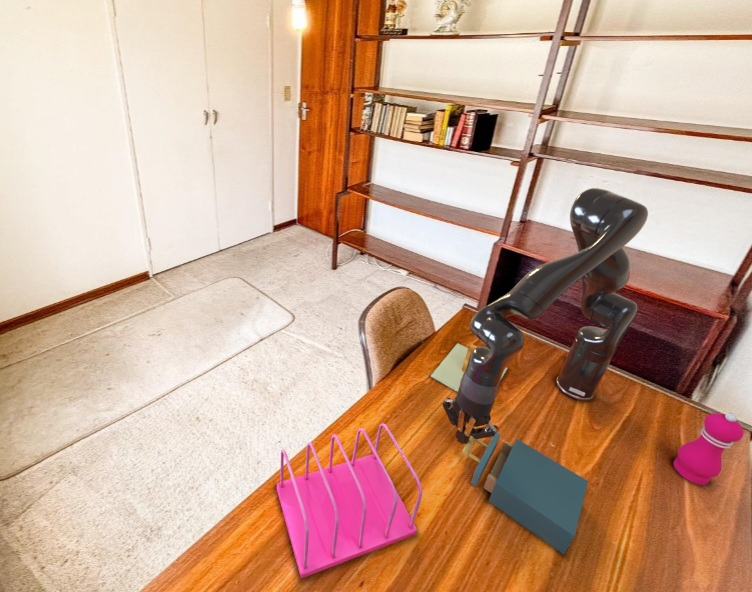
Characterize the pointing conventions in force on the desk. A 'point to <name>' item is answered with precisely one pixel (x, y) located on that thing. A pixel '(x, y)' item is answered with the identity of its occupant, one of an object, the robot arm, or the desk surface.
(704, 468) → the pepper mill
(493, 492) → the cabinet
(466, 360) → the block
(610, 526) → the desk surface
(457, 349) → the mat
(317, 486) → the file sorter
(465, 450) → the drawer
